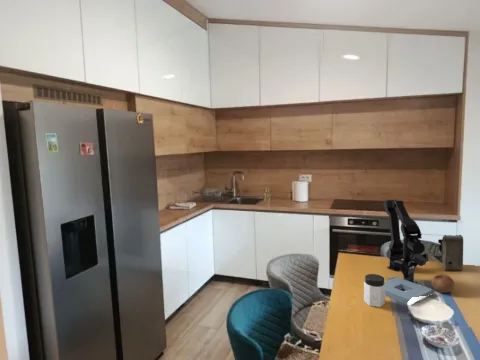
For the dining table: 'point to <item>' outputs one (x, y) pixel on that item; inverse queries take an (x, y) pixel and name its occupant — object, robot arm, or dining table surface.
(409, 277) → the lens
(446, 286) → the onion
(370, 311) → the dining table surface
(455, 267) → the vintage camera
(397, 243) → the robot arm
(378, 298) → the jar
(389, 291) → the mount block
